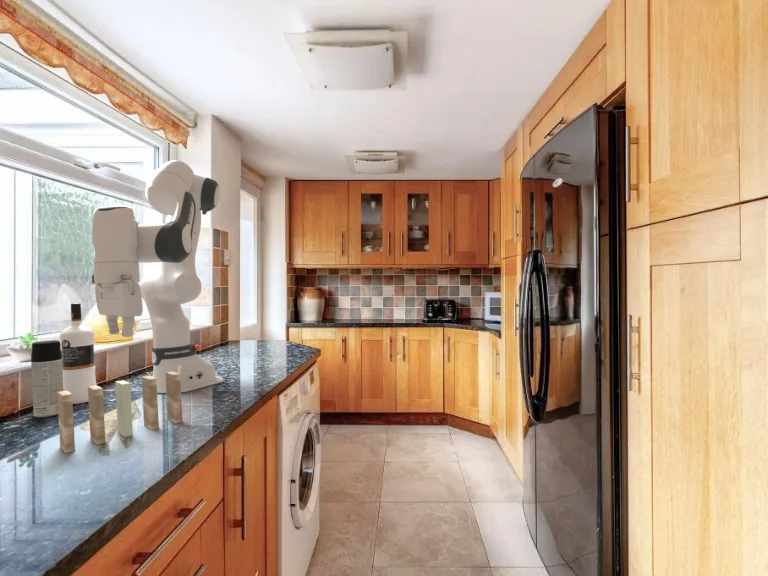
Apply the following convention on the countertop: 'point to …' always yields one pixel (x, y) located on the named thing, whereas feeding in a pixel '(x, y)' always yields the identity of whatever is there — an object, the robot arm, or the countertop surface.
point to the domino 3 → (124, 408)
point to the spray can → (46, 377)
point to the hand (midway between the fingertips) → (120, 335)
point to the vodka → (77, 357)
